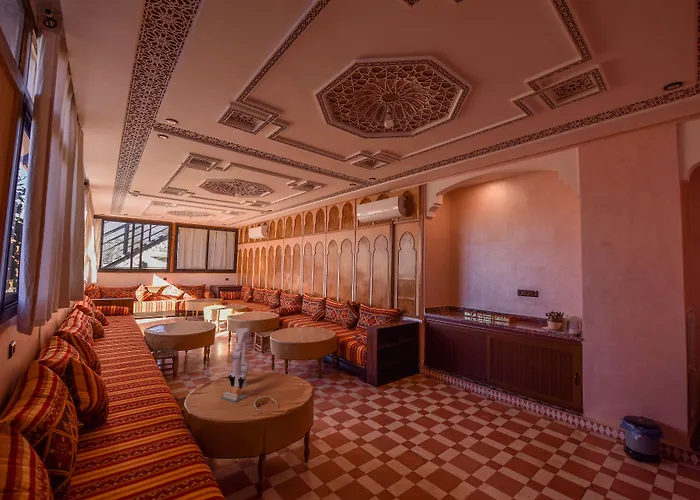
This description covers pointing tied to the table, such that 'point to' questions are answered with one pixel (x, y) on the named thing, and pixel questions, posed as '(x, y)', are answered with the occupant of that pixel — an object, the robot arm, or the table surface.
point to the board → (233, 397)
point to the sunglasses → (263, 401)
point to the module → (236, 391)
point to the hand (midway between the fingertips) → (236, 387)
